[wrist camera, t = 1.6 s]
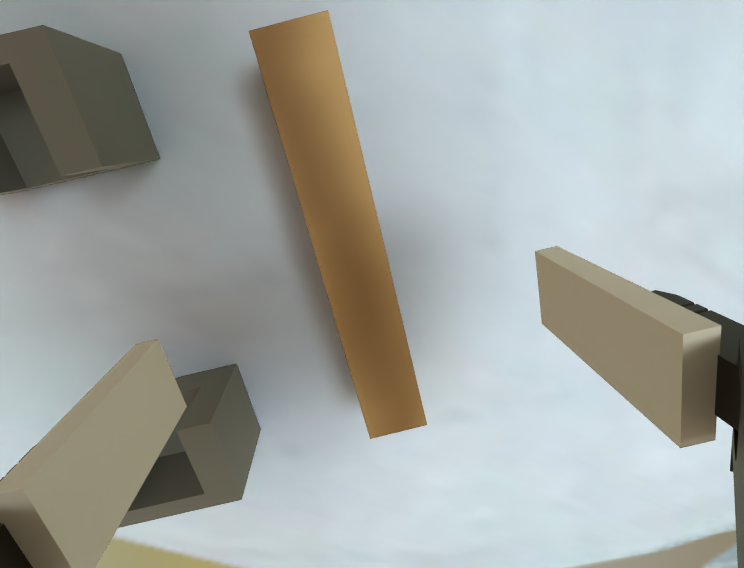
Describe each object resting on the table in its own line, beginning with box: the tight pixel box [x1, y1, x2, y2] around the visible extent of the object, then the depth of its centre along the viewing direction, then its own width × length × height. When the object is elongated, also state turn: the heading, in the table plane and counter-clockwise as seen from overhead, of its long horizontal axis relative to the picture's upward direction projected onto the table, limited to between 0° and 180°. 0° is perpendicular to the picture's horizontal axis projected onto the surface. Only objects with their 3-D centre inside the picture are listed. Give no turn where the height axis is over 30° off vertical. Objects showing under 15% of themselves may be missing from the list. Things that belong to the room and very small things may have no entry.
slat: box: [249, 10, 427, 439], centre depth 25 cm, size 4×22×6 cm, turn 13°
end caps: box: [0, 25, 261, 528], centre depth 24 cm, size 8×25×6 cm, turn 12°
